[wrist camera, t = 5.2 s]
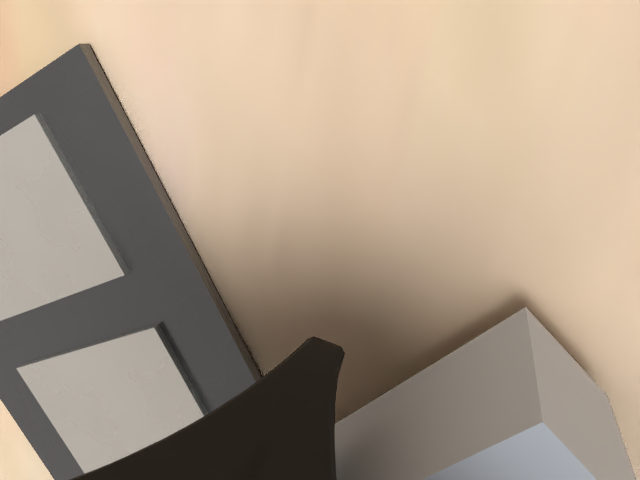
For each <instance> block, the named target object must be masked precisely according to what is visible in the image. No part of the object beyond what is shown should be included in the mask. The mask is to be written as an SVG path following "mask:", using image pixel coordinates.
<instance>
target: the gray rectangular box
mask: <svg viewBox="0 0 640 480" xmlns="http://www.w3.org/2000/svg"><path fill="white" fill-rule="evenodd" d="M335 460H336V477H337V480H636V477H635V475H634V472H633V469H632V466H631V463H630V460H629V457H628V454H627V451H626V448H625V445H624V442H623V439H622V436H621V434H620V431H619V428H618V425H617V422H616V419H615V416H614V413H613V410H612V407H611V404H610V401H609V398H608V396H607V395H606V393H605V392H604V391H603V390H602V389H601V388H600V387H599V386H598V385H597V384H596V383H595V381H594V380H593V379H592V378H591V377H590V376H589V375H588V374H587V373H586V372H585V371H584V370H583V368H582V367H581V366H580V365H579V364H578V363H577V362H576V361H575V360H574V359H573V358H572V357H571V355H570V354H569V353H568V352H567V351H566V350H565V349H564V348H563V347H562V346H561V345H560V343H559V342H558V341H557V340H556V339H555V338H554V337H553V336H552V335H551V334H550V333H549V332H548V330H547V329H546V328H545V327H544V326H543V325H542V324H541V323H540V322H539V321H538V320H537V319H536V317H535V316H534V315H533V314H532V313H531V312H530V311H529V310H528V309H527V308H526V307H525V308H523V309H521V310H520V311H518V312H517V313H515V314H513V315H512V316H510V317H508V318H507V319H505V320H503V321H502V322H500V323H499V324H497V325H495V326H494V327H492V328H490V329H489V330H487V331H486V332H484V333H482V334H481V335H479V336H477V337H476V338H474V339H472V340H471V341H469V342H468V343H466V344H464V345H463V346H461V347H459V348H458V349H456V350H455V351H453V352H451V353H450V354H448V355H446V356H445V357H443V358H441V359H440V360H438V361H437V362H435V363H433V364H432V365H430V366H428V367H427V368H425V369H424V370H422V371H420V372H419V373H417V374H415V375H414V376H412V377H410V378H409V379H407V380H406V381H404V382H402V383H401V384H399V385H397V386H396V387H394V388H393V389H391V390H389V391H388V392H386V393H384V394H383V395H381V396H379V397H378V398H376V399H375V400H373V401H371V402H370V403H368V404H366V405H365V406H363V407H362V408H360V409H358V410H357V411H355V412H353V413H352V414H350V415H348V416H347V417H345V418H344V419H342V420H340V421H339V422H337V423H335Z"/></svg>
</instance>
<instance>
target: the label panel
mask: <svg viewBox="0 0 640 480" xmlns="http://www.w3.org/2000/svg"><path fill="white" fill-rule="evenodd" d="M261 378H262V377H261V375H260V373H259V371H258V369H257V367H256V366H255V364H254V362H253V360H252V358H251V356H250V354H249V352H248V350H247V348H246V346H245V344H244V342H243V340H242V339H241V337H240V335H239V333H238V331H237V329H236V327H235V325H234V323H233V321H232V319H231V317H230V315H229V313H228V312H227V310H226V308H225V306H224V304H223V302H222V300H221V298H220V296H219V294H218V292H217V290H216V288H215V286H214V285H213V283H212V281H211V279H210V277H209V275H208V273H207V271H206V269H205V267H204V265H203V263H202V261H201V259H200V258H199V256H198V254H197V252H196V250H195V248H194V246H193V244H192V242H191V240H190V238H189V236H188V234H187V232H186V230H185V229H184V227H183V225H182V223H181V221H180V219H179V217H178V215H177V213H176V211H175V209H174V207H173V205H172V203H171V202H170V200H169V198H168V196H167V194H166V192H165V190H164V188H163V186H162V184H161V182H160V180H159V178H158V176H157V175H156V173H155V171H154V169H153V167H152V165H151V163H150V161H149V159H148V157H147V155H146V153H145V151H144V149H143V148H142V146H141V144H140V142H139V140H138V138H137V136H136V134H135V132H134V130H133V128H132V126H131V124H130V122H129V121H128V119H127V117H126V115H125V113H124V111H123V109H122V107H121V105H120V103H119V101H118V99H117V97H116V95H115V94H114V92H113V90H112V88H111V86H110V84H109V82H108V80H107V78H106V76H105V74H104V72H103V70H102V68H101V67H100V65H99V63H98V61H97V59H96V57H95V55H94V53H93V51H92V49H91V47H90V45H89V44H78V45H77V46H75V47H74V48H72V49H71V50H69V51H68V52H66V53H65V54H63V55H62V56H60V57H59V58H57V59H56V60H54V61H53V62H52V63H50V64H49V65H47V66H46V67H44V68H43V69H41V70H40V71H38V72H37V73H35V74H34V75H32V76H31V77H29V78H28V79H27V80H25V81H24V82H22V83H21V84H19V85H18V86H16V87H15V88H13V89H12V90H10V91H9V92H7V93H6V94H4V95H3V96H1V97H0V399H1V401H2V402H3V403H4V405H5V406H6V408H7V409H8V411H9V412H10V414H11V415H12V417H13V418H14V420H15V421H16V423H17V424H18V426H19V427H20V429H21V430H22V432H23V433H24V435H25V436H26V438H27V439H28V441H29V442H30V444H31V445H32V447H33V448H34V450H35V451H36V453H37V454H38V456H39V457H40V459H41V460H42V462H43V463H44V465H45V466H46V468H47V469H48V471H49V472H50V474H51V475H52V477H53V478H54V480H69V479H72V478H75V477H77V476H80V475H82V474H85V473H88V472H90V471H93V470H95V469H98V468H101V467H103V466H105V465H108V464H110V463H112V462H115V461H117V460H119V459H121V458H124V457H126V456H128V455H130V454H132V453H134V452H137V451H139V450H141V449H143V448H145V447H147V446H149V445H151V444H153V443H155V442H158V441H160V440H162V439H164V438H166V437H167V436H169V435H171V434H173V433H175V432H177V431H179V430H181V429H182V428H184V427H186V426H188V425H190V424H191V423H193V422H195V421H197V420H198V419H200V418H202V417H204V416H205V415H207V414H209V413H210V412H212V411H213V410H215V409H217V408H218V407H220V406H221V405H223V404H224V403H226V402H227V401H229V400H230V399H232V398H234V397H235V396H237V395H238V394H240V393H241V392H243V391H244V390H246V389H247V388H248V387H250V386H251V385H253V384H254V383H255V382H257V381H258V380H259V379H261Z"/></svg>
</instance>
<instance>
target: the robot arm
mask: <svg viewBox="0 0 640 480" xmlns="http://www.w3.org/2000/svg"><path fill="white" fill-rule="evenodd" d="M344 354H345V353H344V351H343V349H342V347H340V346H338V345H335V344H333V343H330V342H327V341H325V340H322V339H320V338H317V337H314V336H313V337H311V338H309V339H307V340H306V341H305V342H304V343H303V344H302V345H301V346H300V347H299V348H298V349H297V350H296V351H295V352H293V353H292V354H291V355H290V356H289V357H288V358H286V359H285V360H284V361H283V362H281V363H280V364H279V365H278V366H277V367H275V368H274V369H273V370H271V371H270V372H269V373H267V374H266V375H265V376H263V377H262V378H261V379H259V380H258V381H257V382H255V383H254V384H253V385H251V386H250V387H248V388H247V389H246V390H244V391H243V392H241V393H240V394H238V395H237V396H235V397H234V398H232V399H230V400H229V401H227V402H226V403H224V404H223V405H221V406H220V407H218V408H217V409H215V410H213V411H212V412H210V413H209V414H207V415H205V416H204V417H202V418H200V419H198V420H197V421H195V422H193V423H191V424H190V425H188V426H186V427H184V428H182V429H181V430H179V431H177V432H175V433H173V434H171V435H169V436H167V437H166V438H164V439H162V440H160V441H158V442H155V443H153V444H151V445H149V446H147V447H145V448H143V449H141V450H139V451H137V452H134V453H132V454H130V455H128V456H126V457H124V458H121V459H119V460H117V461H115V462H112V463H110V464H108V465H105V466H103V467H101V468H98V469H95V470H93V471H90V472H88V473H85V474H82V475H80V476H77V477H75V478H72V479H69V480H337V477H336V460H335V400H336V389H337V380H338V374H339V371H340V367H341V364H342V361H343V358H344Z"/></svg>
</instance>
